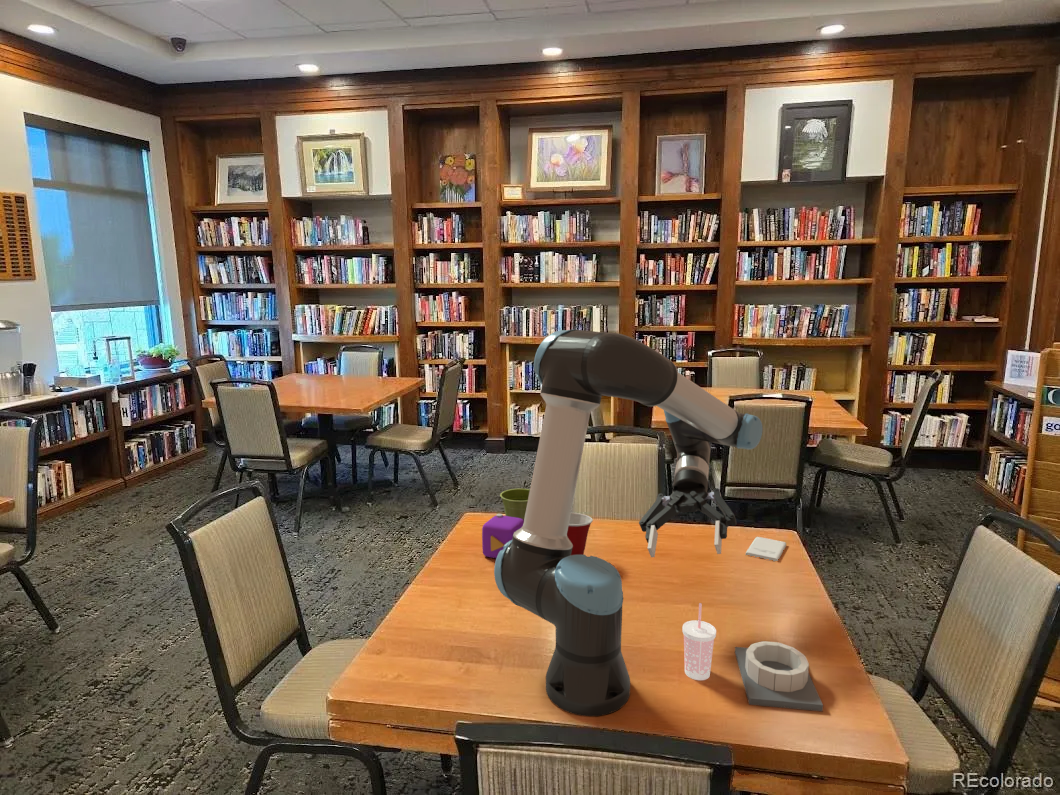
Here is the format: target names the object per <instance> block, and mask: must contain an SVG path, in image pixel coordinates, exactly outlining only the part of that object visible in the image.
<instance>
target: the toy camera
mask: <svg viewBox="0 0 1060 795" xmlns="http://www.w3.org/2000/svg"><path fill="white" fill-rule="evenodd" d="M523 523H524V520H523V519H521V518H516V517H509V516H506V515H503V513H497V514H496V515H494V516H492V518H490V519H488V521H486V522H485V523H484V524H483V525H482V528H481V530H482V531H481V532H482V533H481V534H482V535H481V536H482V537H481V539H482V542H481V543H482V546H481V547H482V554H483V555H484V557H488V558H492V559H496V558H497V556H498V553H499V552H500V550H503V549H504V548H503V546H504V545H505V544H506V543H507V542H509V541H511V540H512V539H513V534H514V532H516V531H517V530H519V529H520V528H521V527H522V526H523Z"/></svg>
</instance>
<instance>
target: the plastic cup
mask: <svg viewBox="0 0 1060 795" xmlns="http://www.w3.org/2000/svg"><path fill="white" fill-rule="evenodd" d="M593 521H594V520H593V518H592V517H591V516H589V515H587V514H584V513H579V512H571V515H570V520H569V526H568V531H567V537H568V539H569V540H570V542H571V543H572V545H573V547H572V552H571V555H585V549H586V544H587V540H588V535H589V530H590V527H591V524H592V523H593Z"/></svg>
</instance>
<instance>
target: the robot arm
mask: <svg viewBox="0 0 1060 795" xmlns="http://www.w3.org/2000/svg"><path fill="white" fill-rule="evenodd" d="M533 370H534V373H535V374H536V376H535V377H536V379H537V380H538V382H539V383H540V384H541V390H540V394H539V395H540V396H541V397H542V399H543V401H544V402H545V410H544V414H543V421H542V426H541V430H540V437H539V441H538V446H537V452H536V457H535V462H534V468H533V472H532V478H531V481H530V482H531V483H530V488H529V489H530V492H529V497H528V503H527V508H526V513H525V518H524V523H523V526H522V527H521V528H520V529H519V530H517V531H516V532H514V534H513V539H512V540H511V541H509V542H507V543H506V544H505V545H504V546H503V548H504V549H503V550H500V552H499V553H498V556H497V558H495V563H494V566H493V568H494V570H493V573H494V574H493V575H494V581H495V584H496V587H497V589H498V590H499V591H500V593H501V595H503V596H504V597H505V598H506V599H508V600H510V602H511V603H512V604H514V605H516V606H518V607H520V608H523V609H524V610H526V611H529V612H530V613H532V614H534V615H535V616H538V617H539V618H541V619H543V620H544V621H546V622H548V623H550V624H552V625H554V628H555V646H554V647H555V648H554V650H553V653H552V656H551V660H550V661H549V662H550V663H549V664H548V667H547V670H546V674H545V692H546V695H547V697H548V699H549V700H550V701H551V702H552V703H553V704H554V705H555V706H557V707H558V708H559V709H560V710H562V711H563V710H564V711H565V712H568V713H570V714H574V715H577V716H584V717H585V716H586V717H598V716H605V715H609V714H611V713H614V712H616V711H619V710H620V709H621V708H622V707H623V706H625V705H626V703H627V702H628V701H629V698H630V695H631V679H630V674H629V672H628V668H627V665H626V661H625V659H624V655H623V653H622V626H623V624H622V622H623V604H624V591H623V582H622V577H621V575H620V572H619V570H618V569H617V568H616V567H615V566H614V565H612V563H610V562H608V560H607V561H606V560H605V559H603V558H600V557H597V556H594V555H590V556H587V555H586V554H584V555H571V552H572V547H573V545H572V543H571V542H570V540H569V539H568V537H567V531H568V526H569V520H570V515H571V513H572V509H573V504H574V500H575V494H576V488H577V483H578V478H579V473H580V467H581V462H582V457H583V452H584V447H585V442H586V438H587V437H586V436H587V430H588V427H589V426H588V425H589V423H590V422H589V420H590V416H591V413H592V412H593V411H595V410H596V409H598V408H599V407H600V406H601V402H602V401H601V400H602V396H603V397H604V396H606V397H610V398H611V397H612V398H620V399H624V400H630V401H634V402H638V403H640V404H641V405H643V406H645V407H646V406H647V407H658V408H659V409H662V410H663V413H664V416H665V420H664V421H665V422H666V424H667V427H668V430H669V432H670V435H671V438H672V439H671V440H672V441H673V442H672V443H673V444H674V448H675V450H676V463H675V468H674V469H675V471H674V479H673V485H672V492H671V494H670V495H667V496H666V495H664V494H663V493H658V494H657V497H656V500H655V502H653V504H652V505H651V506H650V507H649V509H648V510H647V511H646V513H645V514H644V515H643V516H642V517H641V519H640V520H639V521H638V524H639V527H640V529H641V531H642V532H643V533H645V535H644V537H645V540H646V542H647V551H648V554H649V556H650V558H655V555H656V549H657V545H658V544H657V543H658V538H659V537H658V536H659V533H658V530H659V529H660V528H661V527H662V526H664V525H665V524H666V523H668V522H669V521H670V520H671V519H672V518H674V517H677V516H678V515H680V514H681V513H682V514H685V513H697V511H699V512H701V514H703V515H705V516H707V517H708V518H710V519H711V520H712V521H713V522H715V526H714V548H715V551H716V554H717V555H721V554H722V544H723V542H722V540H723V539H724V540H725V539H727V537H728V527H730V526H731V527H734V526H737V524H738V522H737V519H736V516H735V514H734V512H733V511H732V509H731V508H730V506H729V504H727V503H726V501H725V500H724V498H723V497H722V494H721V491H720V488H714V489H713V491H712V492H708V485H709V482H708V481H709V473H710V472H709V471H710V469H709V467H710V458H711V453H712V451H711V450H712V444H711V443H714V444H719V445H722V446H727V447H733V448H737V449H738V450H740V449H741V450H742V449H743V450H748V451H750V450H753V449H755V448H757V446H758V445H759V443H760V442H761V439H762V436H763V430H764V429H763V423H762V421H761V419H760V417H759V416H757V415H753V414H749V413H742V412H739V411H737V410H735V409H734V408H733V407H732V406H731V407H730V406H729V405H728V404H727V403H725V402H723V400H720V398H718V397H715V395H713V394H711V393H710V392H708V391H707V390H705V388H702V387H701V386H699V385H698V384H697V383H695V382H693V380H690V379H689V378H687V377H686V376H685V375H683V374H681V372H679V371H678V367H677V366H676V364H675V363H674V362H673V361H672V360H670V359H669V358H668V357H666V356H664V355H663V354H661V353H660V352H658V351H657V350H655V349H653V348H652V347H651V346H648V345H647V344H645V343H643V342H641V341H640V340H637V339H636V338H634V337H631V336H628V335H625V334H623V333H619V332H603V331H593V330H584V329H583V330H582V329H581V330H580V329H574V328H573V329H567V330H565V329H562V330H556V331H553V332H552V333H551V334H549V335H548V336H546V337H545V338H544V339H543V340H542V341H541V343H540V344H539V346H538V348H537V349H536V352H535V356H534V360H533ZM710 500H711V501H712V502H713V503H716V505H717V507H718V509H719V510H720V511H721V513H720V512H719V511H718V510H716V509H715V508H714V507H713V506H711V505H710V504H709V503H707V502H708V501H710Z"/></svg>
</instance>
